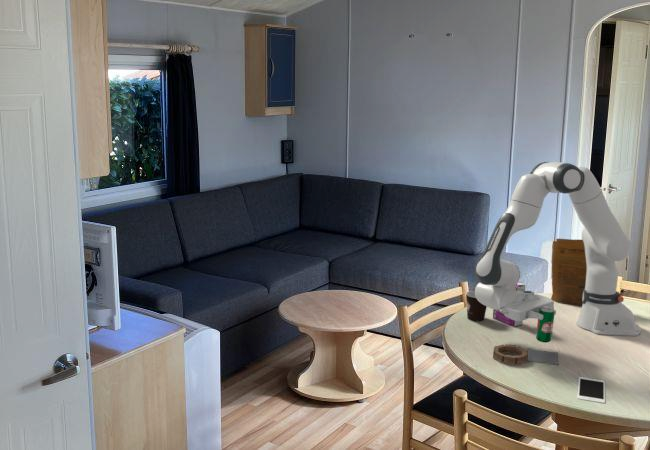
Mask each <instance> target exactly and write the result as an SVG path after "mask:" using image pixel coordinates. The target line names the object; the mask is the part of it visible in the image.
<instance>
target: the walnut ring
mask: <svg viewBox="0 0 650 450" xmlns="http://www.w3.org/2000/svg"><path fill="white" fill-rule="evenodd" d="M492 354H493V355H492V358H493V360H494V361H496V362H499V363H500V364H504V365H511V366H519V365H522V364H526V363H527V361H528V350H527V349H525V348H523V347H522V346H517V345H516V344H515V345H514V344H500V345H495V346H494V347H493V351H492ZM507 354H511V355H507Z"/></svg>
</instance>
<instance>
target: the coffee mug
mask: <svg viewBox="0 0 650 450" xmlns="http://www.w3.org/2000/svg"><path fill="white" fill-rule="evenodd" d="M465 295H466V296H465V298H466V299H465V300H466V312H467V313H466V316H467V320H469V321H472V322H478V323H479V322H483V321H484V320H485V316H486V312H487V308H488V307H487V306H485V305H483V304H481V303H480V302H479V301H478V300H477V298H476V296H475V290H469V291H466V293H465Z"/></svg>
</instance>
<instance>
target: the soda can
mask: <svg viewBox="0 0 650 450" xmlns="http://www.w3.org/2000/svg"><path fill="white" fill-rule="evenodd" d="M555 311H556V310H555V306H554V307H553V306H550V305H541V307H540V308H539V313H542V314H544V315H545V318H544V319H542V320H540V319H537V326H536V332H535V333H536V335H535V339H536V340H537V341H538V342H541V343H550V342H551V341H552V338H553V331H554V330H553V328H554V321H555V315H554V314H555Z"/></svg>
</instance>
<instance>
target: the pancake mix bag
mask: <svg viewBox="0 0 650 450" xmlns="http://www.w3.org/2000/svg"><path fill="white" fill-rule="evenodd" d="M551 251H552V252H551V260H550V261H551V289H552V290H551V291H552V295H551V297H550V299H552V300H553V301H554V303H558V304H566V305H573V306H581V307H582V305H583V302H582V297H583V291H584V288H585V283H586V272H587V265H586V255H585V246H584V242H583V240H582V239H569V238H556V239H555V240H553V241H552V246H551Z"/></svg>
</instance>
